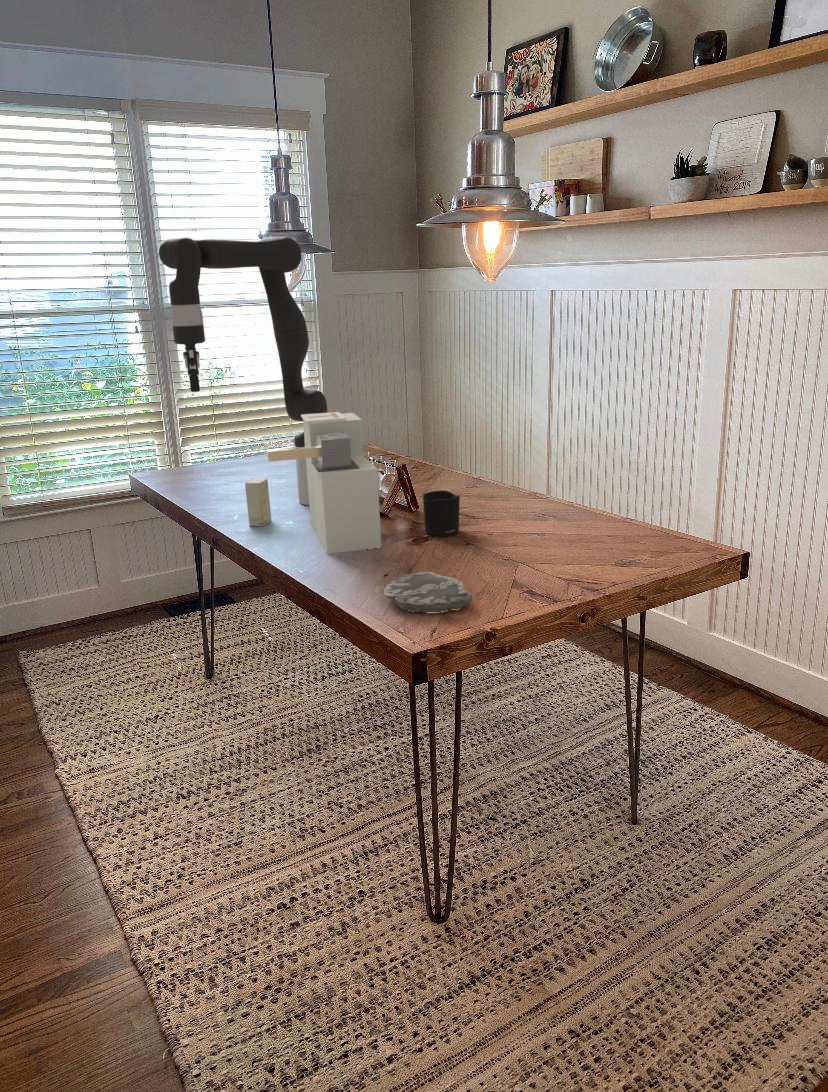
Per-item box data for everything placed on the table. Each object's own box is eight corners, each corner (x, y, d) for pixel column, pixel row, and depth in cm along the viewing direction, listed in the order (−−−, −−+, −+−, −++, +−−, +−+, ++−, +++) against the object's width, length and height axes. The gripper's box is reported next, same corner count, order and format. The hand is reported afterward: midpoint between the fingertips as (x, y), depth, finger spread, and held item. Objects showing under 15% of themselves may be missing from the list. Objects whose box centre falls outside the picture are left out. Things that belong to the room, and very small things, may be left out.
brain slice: (366, 597, 179) (366, 584, 179) (434, 580, 188) (433, 568, 187) (416, 627, 164) (415, 613, 163) (487, 607, 172) (487, 594, 171)
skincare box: (263, 526, 232) (259, 483, 228) (248, 526, 233) (244, 483, 229) (272, 520, 238) (268, 477, 234) (257, 520, 238) (253, 477, 235)
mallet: (344, 459, 214) (343, 431, 212) (351, 466, 206) (350, 438, 204) (266, 466, 210) (264, 438, 208) (270, 473, 201) (268, 444, 199)
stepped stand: (359, 518, 236) (353, 410, 227) (381, 548, 210) (375, 427, 201) (308, 523, 233) (300, 414, 224) (325, 554, 207) (316, 431, 198)
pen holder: (421, 537, 218) (420, 499, 214) (426, 527, 226) (425, 490, 223) (458, 538, 216) (457, 499, 213) (461, 527, 225) (461, 490, 222)
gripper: (204, 324, 205) (211, 392, 210) (202, 321, 218) (209, 385, 223) (171, 325, 203) (179, 394, 208) (172, 323, 216) (179, 387, 221)
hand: (195, 389), depth 216 cm, fingers open, 8 cm apart
